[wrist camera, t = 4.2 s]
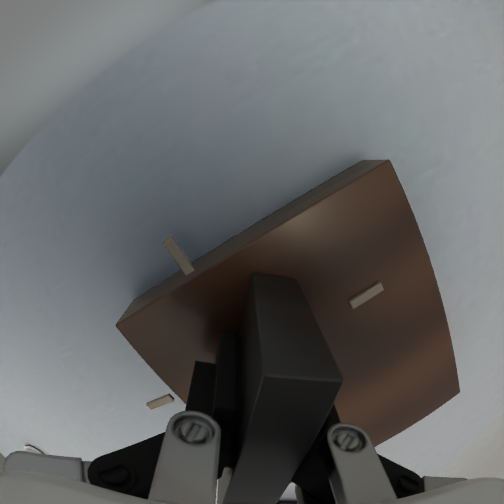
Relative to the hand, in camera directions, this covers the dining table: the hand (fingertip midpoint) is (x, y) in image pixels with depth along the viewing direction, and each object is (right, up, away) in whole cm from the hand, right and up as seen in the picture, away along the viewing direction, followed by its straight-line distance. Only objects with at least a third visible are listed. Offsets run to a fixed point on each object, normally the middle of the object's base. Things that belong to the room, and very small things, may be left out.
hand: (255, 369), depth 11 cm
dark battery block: (0, 0, +1) cm, 1 cm away
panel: (+2, 0, +4) cm, 4 cm away
